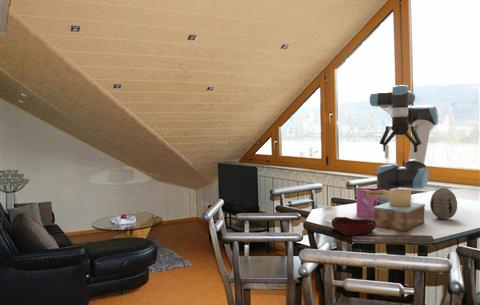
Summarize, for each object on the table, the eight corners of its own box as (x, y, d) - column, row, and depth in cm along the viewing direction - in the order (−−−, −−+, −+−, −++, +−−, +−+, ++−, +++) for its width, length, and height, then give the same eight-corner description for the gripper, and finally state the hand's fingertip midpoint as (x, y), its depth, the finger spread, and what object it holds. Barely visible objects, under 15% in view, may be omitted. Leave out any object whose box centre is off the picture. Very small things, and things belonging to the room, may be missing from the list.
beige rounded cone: (386, 205, 191) (386, 189, 190) (394, 203, 197) (394, 187, 197) (406, 207, 185) (406, 191, 184) (413, 205, 192) (414, 189, 191)
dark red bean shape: (325, 235, 175) (325, 223, 175) (335, 227, 190) (335, 215, 189) (369, 239, 167) (369, 227, 167) (377, 231, 181) (377, 219, 181)
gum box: (405, 215, 213) (405, 188, 212) (408, 219, 205) (409, 191, 204) (356, 214, 217) (356, 187, 216) (357, 217, 209) (357, 190, 209)
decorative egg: (462, 221, 198) (463, 189, 198) (438, 222, 197) (438, 189, 197) (448, 216, 210) (448, 186, 209) (425, 216, 209) (425, 186, 208)
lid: (372, 211, 187) (372, 207, 187) (393, 204, 204) (393, 200, 204) (406, 215, 177) (406, 211, 177) (425, 207, 194) (425, 204, 194)
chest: (374, 227, 188) (374, 209, 187) (394, 219, 204) (394, 202, 204) (406, 231, 179) (406, 212, 178) (424, 223, 195) (424, 205, 195)
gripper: (373, 117, 219) (373, 158, 220) (423, 115, 203) (423, 160, 204) (379, 117, 225) (379, 157, 226) (428, 115, 208) (428, 158, 210)
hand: (399, 158), depth 215 cm, fingers open, 13 cm apart
